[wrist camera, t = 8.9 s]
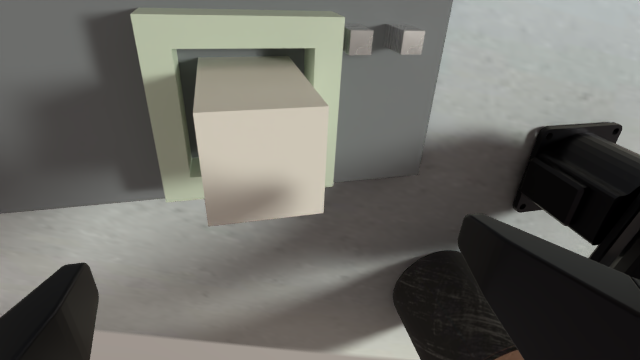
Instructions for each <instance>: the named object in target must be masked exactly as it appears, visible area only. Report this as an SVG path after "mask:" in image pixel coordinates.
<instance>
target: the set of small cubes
mask: <svg viewBox="0 0 640 360" xmlns="http://www.w3.org/2000/svg"><path fill="white" fill-rule="evenodd" d="M373 33H374V30H371V29H369V28H367V27H365V26H363V25H360V24H358V23H345V26H344V40H343V51H344V52H345V53H346V54H348V55H371V51H372V42H373ZM424 36H425V31H424V30H421V29H419V28H416V27H413V26H410V25H407V24H386V27H385V35H384V44H383V46H385V47H387V48H388V49H390V50H392V51H394V52H396V53H398V54H400V55H421V53H422V48H423V42H424Z"/></svg>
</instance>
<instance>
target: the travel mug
mask: <svg viewBox="0 0 640 360" xmlns="http://www.w3.org/2000/svg"><path fill="white" fill-rule="evenodd" d="M393 301H394V305H395V307H396V309H397V312H398V314H399V316H400V318H401V320H402V322H403V324H404V326H405V328H406V331H407V333H408V335H409V337H410V339H411V341H412V343H413V345H414V347H415V349H416V351H417V353H418V355H419V357H420V359H421V360H524V359H523V357H522V356H521V354H520V353H519V351H518V349H517V348H516V346H515V345H514V343H513V342H512V340H511V339H510V337H509V335H508V334H507V332H506V331H505V329H504V328H503V326H502V324H501V323H500V321H499V320H498V318H497V317H496V315H495V314H494V312H493V310H492V309H491V307H490V306H489V304H488V302H487V301H486V299H485V298H484V296H483V294H482V292H481V290H480V288H479V286H478V284H477V282H476V281H475V279H474V277H473V275H472V273H471V271H470V269H469V267H468V265H467V263H466V261H465V259H464V257H463V255H462V253H461V252H457V251H441V252H437V253H433V254H431V255H428V256H426V257H424V258H422V259H420V260H419V261H417V262H415V263H414V264H413V265H411V266H410V267H409V268H408V269H407V270H406V271H405V272H404V273H403V274H402V276H401V277H400V278H399V280H398V281H397V283H396V286H395V288H394V292H393Z"/></svg>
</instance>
